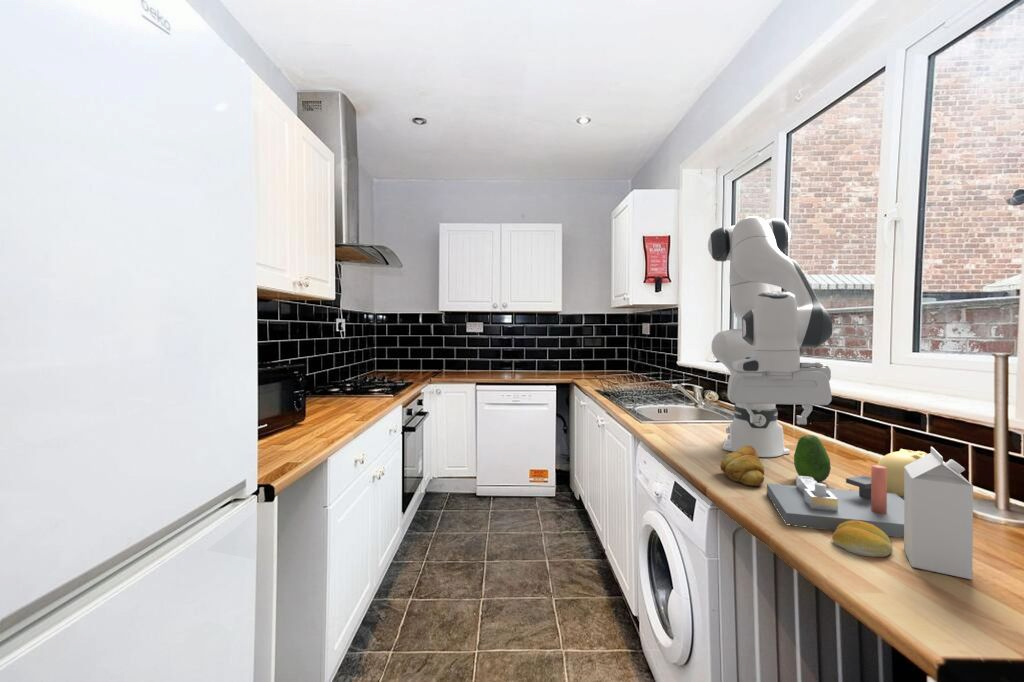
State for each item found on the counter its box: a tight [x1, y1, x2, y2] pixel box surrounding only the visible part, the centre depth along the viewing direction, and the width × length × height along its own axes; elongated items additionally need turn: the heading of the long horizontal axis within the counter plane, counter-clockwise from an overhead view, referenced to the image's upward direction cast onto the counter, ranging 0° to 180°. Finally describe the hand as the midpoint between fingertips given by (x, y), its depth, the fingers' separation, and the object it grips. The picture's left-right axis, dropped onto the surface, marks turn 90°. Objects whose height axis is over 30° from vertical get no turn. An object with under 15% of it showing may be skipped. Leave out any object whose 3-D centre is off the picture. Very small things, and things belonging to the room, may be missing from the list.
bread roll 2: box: [832, 520, 893, 558], centre depth 79 cm, size 8×9×4 cm
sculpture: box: [876, 448, 928, 499], centre depth 101 cm, size 11×12×11 cm
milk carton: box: [903, 446, 974, 580], centre depth 73 cm, size 7×7×19 cm
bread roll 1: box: [719, 446, 765, 487], centre depth 114 cm, size 13×10×8 cm
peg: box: [870, 464, 887, 514], centre depth 88 cm, size 2×2×9 cm
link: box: [796, 475, 838, 511], centre depth 95 cm, size 13×5×2 cm, turn 161°
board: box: [766, 475, 904, 538], centre depth 92 cm, size 17×25×7 cm
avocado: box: [793, 434, 832, 483], centre depth 111 cm, size 8×8×12 cm
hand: (777, 423), depth 99 cm, fingers open, 8 cm apart
